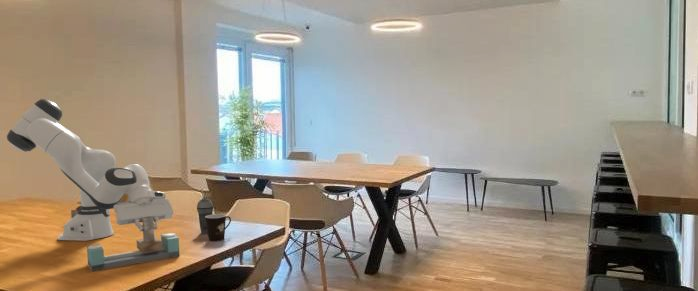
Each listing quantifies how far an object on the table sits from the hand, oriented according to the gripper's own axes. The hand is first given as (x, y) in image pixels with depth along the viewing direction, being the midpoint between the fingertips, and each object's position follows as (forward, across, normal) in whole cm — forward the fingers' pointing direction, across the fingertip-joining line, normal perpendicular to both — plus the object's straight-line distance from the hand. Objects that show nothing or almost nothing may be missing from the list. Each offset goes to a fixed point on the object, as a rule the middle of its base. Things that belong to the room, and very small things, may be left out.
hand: (148, 229), depth 191 cm
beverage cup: (-11, +30, +26) cm, 42 cm away
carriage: (+5, 0, +6) cm, 7 cm away
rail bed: (+7, -5, +8) cm, 12 cm away
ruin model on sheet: (-55, -11, +71) cm, 90 cm away
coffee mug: (0, +31, +16) cm, 35 cm away
